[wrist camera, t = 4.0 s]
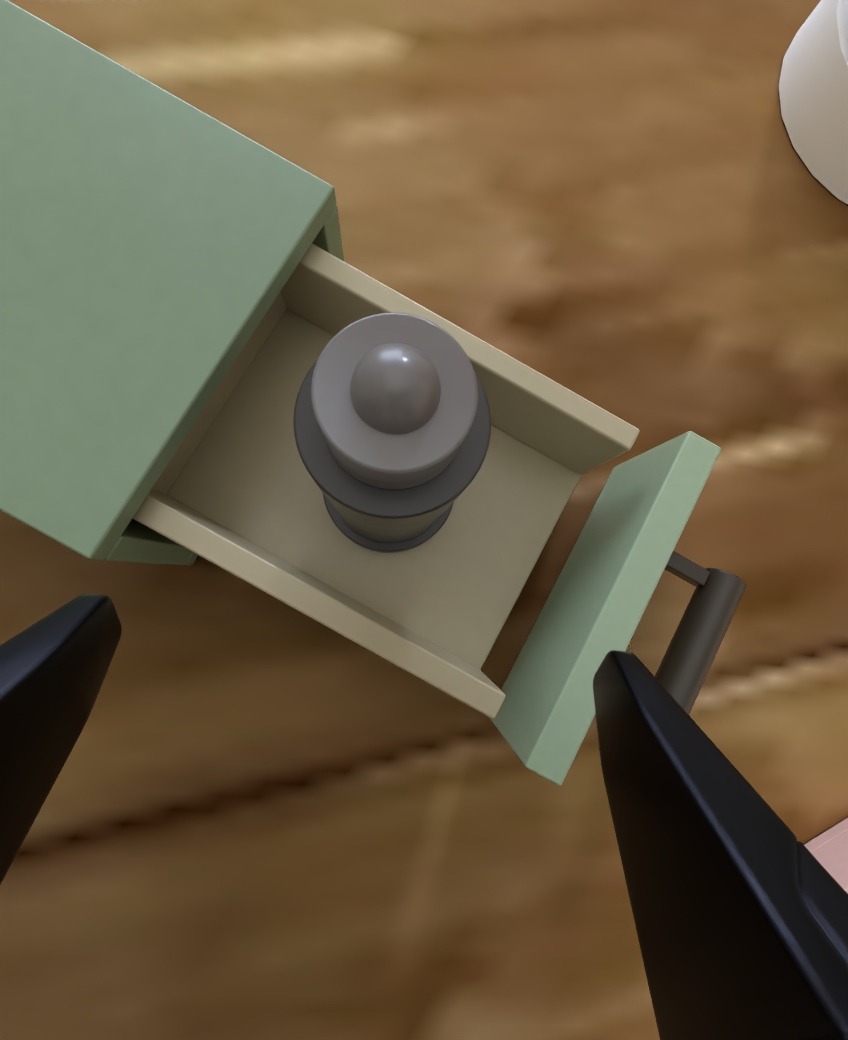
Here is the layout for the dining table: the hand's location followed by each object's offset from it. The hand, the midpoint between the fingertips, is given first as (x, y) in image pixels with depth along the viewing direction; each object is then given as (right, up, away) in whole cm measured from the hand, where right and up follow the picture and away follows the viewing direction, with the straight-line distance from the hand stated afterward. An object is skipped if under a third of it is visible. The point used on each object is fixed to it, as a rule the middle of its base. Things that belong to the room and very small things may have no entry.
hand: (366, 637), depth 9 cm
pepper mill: (0, +3, +10) cm, 10 cm away
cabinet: (-13, +10, +12) cm, 20 cm away
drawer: (+2, +2, +11) cm, 11 cm away
